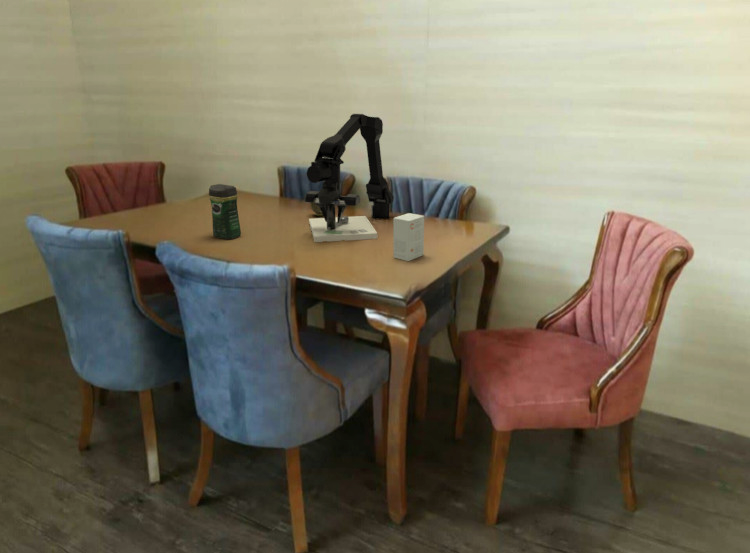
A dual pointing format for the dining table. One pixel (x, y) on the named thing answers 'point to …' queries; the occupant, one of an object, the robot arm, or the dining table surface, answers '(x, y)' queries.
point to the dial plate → (343, 230)
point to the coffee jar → (224, 211)
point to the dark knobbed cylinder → (333, 217)
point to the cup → (316, 209)
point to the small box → (408, 236)
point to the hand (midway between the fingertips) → (332, 222)
